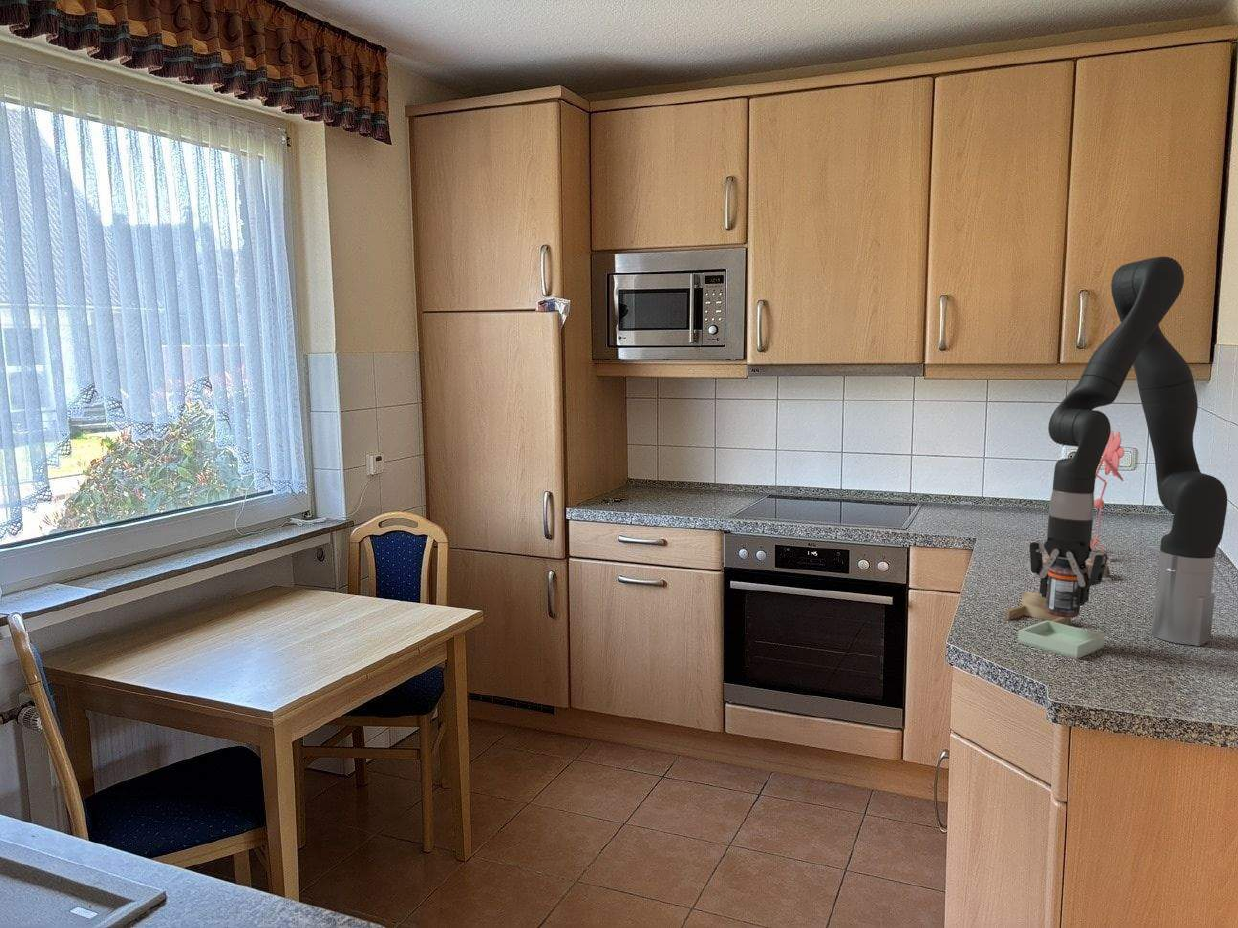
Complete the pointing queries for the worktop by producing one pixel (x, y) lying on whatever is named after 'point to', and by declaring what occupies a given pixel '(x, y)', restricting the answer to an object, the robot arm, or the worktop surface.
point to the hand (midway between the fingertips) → (1062, 600)
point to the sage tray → (1061, 639)
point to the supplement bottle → (1062, 590)
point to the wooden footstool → (1034, 609)
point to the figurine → (1111, 464)
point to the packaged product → (1088, 563)
